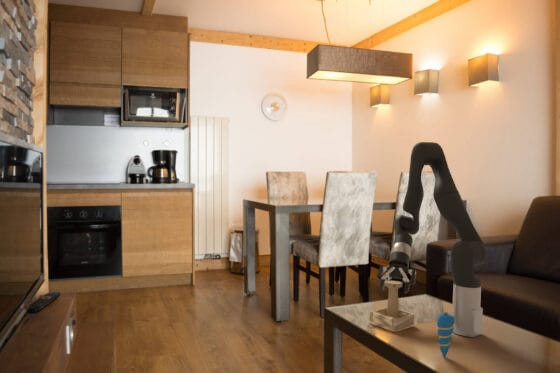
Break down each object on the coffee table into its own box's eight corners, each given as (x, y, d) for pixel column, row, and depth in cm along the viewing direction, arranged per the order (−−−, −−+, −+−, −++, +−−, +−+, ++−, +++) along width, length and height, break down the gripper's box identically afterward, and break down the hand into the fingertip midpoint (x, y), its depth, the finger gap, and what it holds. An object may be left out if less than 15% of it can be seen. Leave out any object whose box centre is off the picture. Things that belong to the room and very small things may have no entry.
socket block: (414, 326, 172) (414, 313, 172) (395, 332, 165) (395, 319, 165) (388, 318, 181) (389, 306, 181) (369, 323, 174) (370, 311, 174)
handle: (382, 319, 176) (383, 280, 175) (399, 320, 175) (401, 281, 175) (384, 323, 171) (385, 283, 170) (402, 324, 170) (403, 284, 170)
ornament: (449, 354, 145) (451, 306, 145) (456, 360, 140) (457, 311, 140) (433, 353, 145) (434, 306, 145) (439, 360, 140) (441, 311, 140)
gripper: (381, 249, 184) (373, 283, 174) (417, 252, 178) (412, 287, 168) (383, 260, 189) (376, 294, 179) (419, 263, 183) (414, 299, 173)
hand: (393, 291), depth 174 cm, fingers open, 8 cm apart
